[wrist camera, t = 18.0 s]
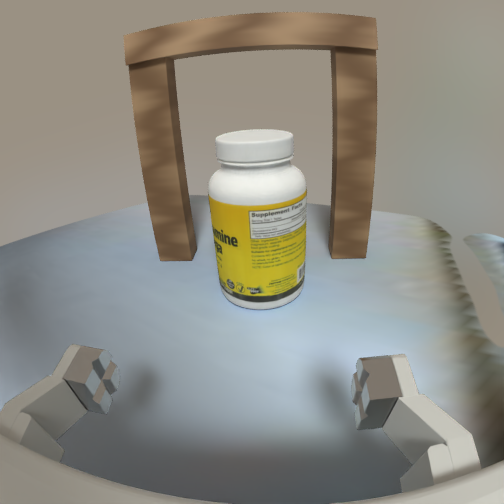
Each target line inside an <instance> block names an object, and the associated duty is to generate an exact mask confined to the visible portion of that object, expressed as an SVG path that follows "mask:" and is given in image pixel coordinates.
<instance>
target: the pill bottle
mask: <svg viewBox="0 0 504 504" xmlns="http://www.w3.org/2000/svg"><path fill="white" fill-rule="evenodd" d="M215 144H216V156H217V160H218V161H219V162H220V163H222V166H221V168H220V169H219V170H218V171H216V172H215V173H214V174H213V175H212V177H211V179H210V181H209V184H208V196H209V204H210V212H211V221H212V227H213V234H214V242H215V250H216V258H217V266H218V273H219V280H220V285H221V289H222V292H223V293H224V295H225V296H226V298H227V299H228V300H230V301H231V302H232V303H234V304H236V305H238V306H241V307H244V308H248V309H256V310H262V309H272V308H276V307H280V306H283V305H285V304H287V303H289V302H291V301H293V300H294V299H295V298H296V297H297V296H298V295H299V294H300V292H301V290H302V288H303V284H304V274H305V251H306V204H307V203H306V201H307V198H306V196H307V189H306V180H305V177H304V175H303V174H302V172H301V171H300V170H299V169H298V168H297V167H295V166H293V165H291V164H290V160H291V159H292V158H293V156H294V155H293V153H294V141H293V134H292V133H290V132H287V131H281V130H270V129H261V130H260V129H257V130H243V131H235V132H230V133H226V134H223V135H220V136H218V137H217V138H216V140H215Z"/></svg>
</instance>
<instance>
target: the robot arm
mask: <svg viewBox="0 0 504 504" xmlns="http://www.w3.org/2000/svg"><path fill="white" fill-rule="evenodd" d="M111 359H112V356H111V354H110V352H109V351H108V350H102V349H97V348H91V347H86V346H80V345H74V344H72V345H71V346H69V347H68V349H67V350H66V352H65V354H64V355H63V357H62V359H61V360H60V362H59V363H58V365H57V367H56V369H55V370H54V372H53V374H52V375H51V376H47V377H45V378H44V379H42V380H41V381H39V382H37V383H36V384H34V385H33V386H31V387H30V388H28V389H27V390H25V391H24V392H22V393H21V394H19V395H18V396H16V397H14V398H13V399H11V400H10V401H8V402H7V403H5V405H4V407H3V409H2V411H1V412H0V504H230V503H220V502H211V501H203V500H196V499H189V498H183V497H177V496H172V495H166V494H161V493H157V492H152V491H148V490H143V489H139V488H135V487H131V486H128V485H124V484H120V483H117V482H113V481H110V480H107V479H104V478H100V477H97V476H94V475H91V474H88V473H86V472H83V471H80V470H77V469H75V468H72V467H69V466H67V465H64V464H62V463H60V462H61V459H62V456H63V454H64V449H63V448H62V447H61V446H60V445H59V444H58V443H57V442H56V440H57V439H58V438H59V437H60V436H61V435H63V434H64V433H65V432H66V431H67V430H68V429H69V428H70V427H71V426H73V425H74V424H75V423H76V422H77V421H78V420H79V419H80V418H81V417H82V416H84V415H85V414H86V413H87V412H88V411H92V412H97V413H101V414H106V415H107V413H108V410H109V408H110V406H111V403H112V401H113V399H112V396H111V394H112V393H114V392H115V391H117V389H118V386H119V383H120V373H119V369H118V367H117V366H116V365H115V364H114V363H113V362H112V361H111ZM356 369H357V372H356V373H355V374H353V378H352V385H351V393H352V401H353V403H355V404H356V405H357V407H356V410H355V412H354V415H355V421H356V428H357V430H366V429H376V428H382V430H383V431H384V432H385V433H386V435H387V436H388V437H389V438H390V439H391V440H392V442H393V443H394V444H395V445H396V446H397V447H398V449H399V450H400V451H401V452H402V453H403V454H404V456H405V457H406V458H407V459H408V460H409V461H410V463H411V464H412V465H413V466H412V467H411V468H410V469H409V470H408V471H407V472H406V473H405V474H404V475H403V476H402V477H401V478H400V483H401V490H402V493H399V494H394V495H389V496H384V497H378V498H372V499H365V500H358V501H350V502H341V503H331V504H504V460H502V461H500V462H498V463H495V464H493V465H491V466H488V467H486V468H483V469H482V468H481V465H480V461H479V457H478V454H477V450H476V447H475V444H474V441H473V437H472V434H471V433H469V432H468V431H467V430H466V429H465V428H463V427H462V426H461V425H460V424H459V423H458V422H456V421H455V420H454V419H453V418H452V417H450V416H449V415H448V414H447V413H446V412H444V411H443V410H442V409H441V408H440V407H438V406H437V405H436V404H435V403H434V402H432V401H431V400H430V399H429V398H428V397H427V396H425V395H424V394H419V392H418V389H417V386H416V383H415V380H414V377H413V374H412V371H411V368H410V365H409V362H408V360H407V357H406V355H405V354H399V355H389V356H388V355H386V356H376V357H365V358H359V359H358V360H357V363H356ZM87 410H88V411H87Z"/></svg>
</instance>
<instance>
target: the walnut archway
mask: <svg viewBox="0 0 504 504" xmlns="http://www.w3.org/2000/svg"><path fill="white" fill-rule="evenodd" d="M124 49H125V61H126V65H129V74H130V85H131V95H132V104H133V112H134V120H135V127H136V134H137V141H138V148H139V154H140V161H141V167H142V172H143V178H144V184H145V189H146V195H147V201H148V206H149V211H150V216H151V221H152V226H153V230H154V235H155V240H156V244H157V249H158V253H159V257H160V261H192V259H193V257H194V255H195V253H196V250H197V246H196V240H195V234H194V227H193V221H192V214H191V207H190V200H189V193H188V186H187V178H186V172H185V163H184V155H183V147H182V138H181V130H180V121H179V112H178V101H177V91H176V81H175V69H174V60H176V59H182V58H188V57H194V56H202V55H210V54H219V53H229V52H241V51H256V50H283V49H311V50H312V49H313V50H331V70H332V107H333V108H332V109H333V155H332V156H333V157H332V195H331V217H330V235H329V250H330V253H331V257H332V259H339V258H366V252H367V244H368V236H369V228H370V219H371V209H372V199H373V187H374V173H375V154H376V133H377V65H376V50H378V41H377V27H376V18H372V17H363V16H355V15H344V14H331V13H309V12H277V13H276V12H275V13H254V14H239V15H229V16H220V17H212V18H204V19H198V20H191V21H186V22H180V23H174V24H169V25H164V26H160V27H156V28H151V29H147V30H143V31H139V32H135V33H131V34H127V35H124Z"/></svg>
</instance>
